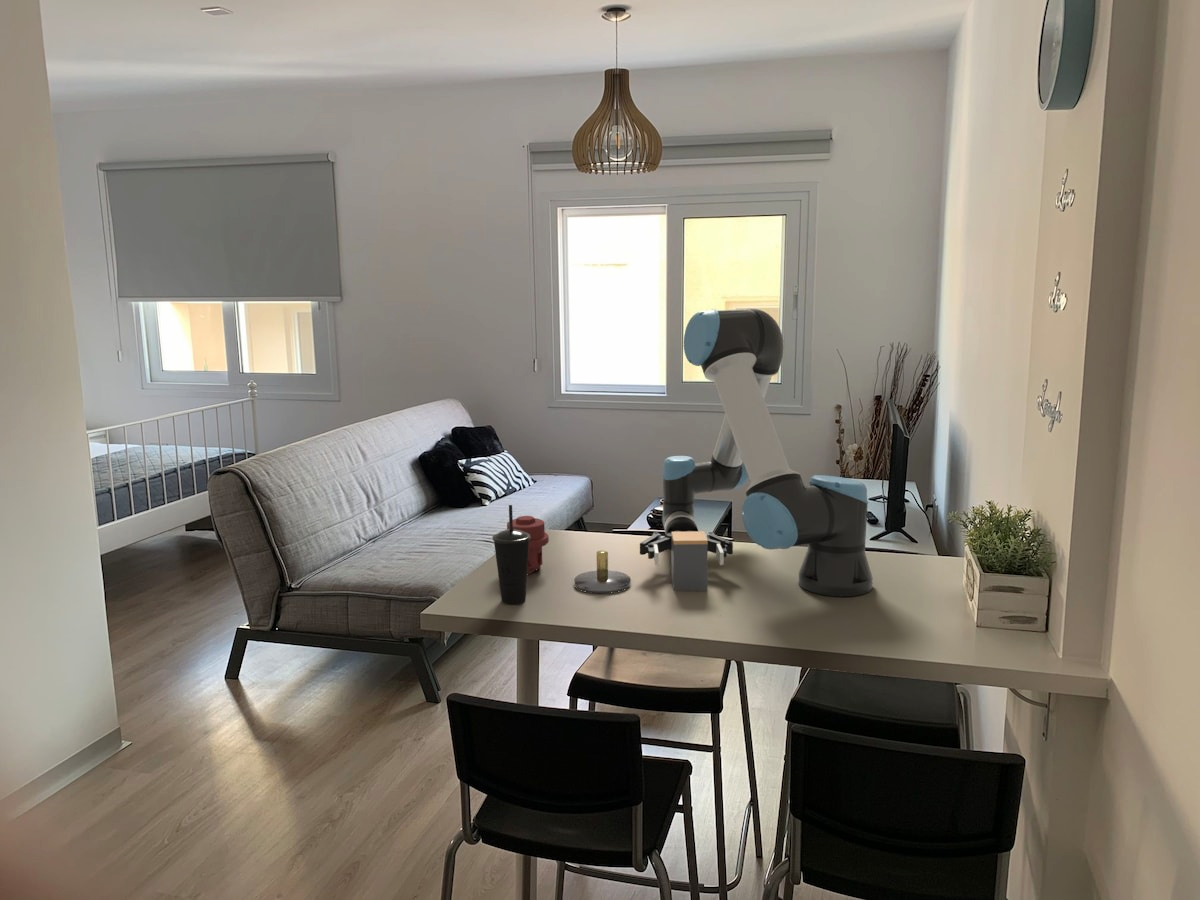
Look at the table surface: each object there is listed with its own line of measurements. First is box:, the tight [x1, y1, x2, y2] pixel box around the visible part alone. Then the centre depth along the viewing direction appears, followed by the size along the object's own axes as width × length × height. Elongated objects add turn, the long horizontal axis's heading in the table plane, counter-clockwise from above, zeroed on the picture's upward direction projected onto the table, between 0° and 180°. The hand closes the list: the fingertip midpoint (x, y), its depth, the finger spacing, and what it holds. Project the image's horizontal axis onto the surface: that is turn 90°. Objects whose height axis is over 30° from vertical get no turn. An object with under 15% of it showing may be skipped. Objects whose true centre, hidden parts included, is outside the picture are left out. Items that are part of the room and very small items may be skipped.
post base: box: [574, 549, 632, 594], centre depth 193 cm, size 12×12×7 cm
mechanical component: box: [506, 515, 549, 575], centre depth 202 cm, size 12×10×10 cm
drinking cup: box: [491, 504, 531, 606], centre depth 182 cm, size 8×8×20 cm
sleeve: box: [670, 530, 709, 592], centre depth 191 cm, size 7×7×11 cm
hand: (689, 559), depth 189 cm, fingers open, 13 cm apart
